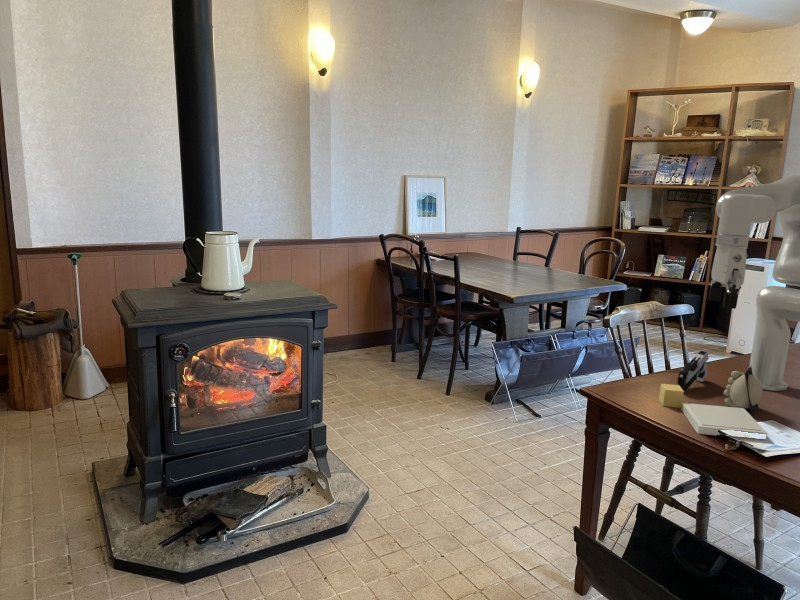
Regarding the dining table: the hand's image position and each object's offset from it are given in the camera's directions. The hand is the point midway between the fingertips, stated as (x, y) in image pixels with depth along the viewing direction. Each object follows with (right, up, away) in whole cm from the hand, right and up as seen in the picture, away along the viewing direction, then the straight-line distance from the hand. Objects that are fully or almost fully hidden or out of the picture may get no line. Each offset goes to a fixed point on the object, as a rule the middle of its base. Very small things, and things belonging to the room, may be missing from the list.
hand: (721, 304), depth 163 cm
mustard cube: (-9, -29, +10) cm, 32 cm away
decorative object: (+9, -30, +8) cm, 32 cm away
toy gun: (+4, -26, +25) cm, 36 cm away
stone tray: (-2, -32, -3) cm, 32 cm away
